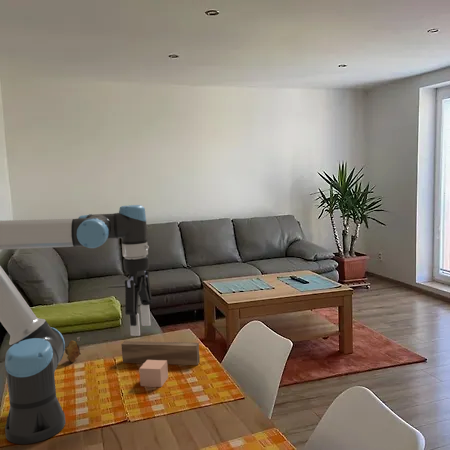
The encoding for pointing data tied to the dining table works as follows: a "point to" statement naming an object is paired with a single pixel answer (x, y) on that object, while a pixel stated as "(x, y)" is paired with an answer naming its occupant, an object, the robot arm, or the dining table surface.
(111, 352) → the dining table surface
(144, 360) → the walnut rail
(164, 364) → the block
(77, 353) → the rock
